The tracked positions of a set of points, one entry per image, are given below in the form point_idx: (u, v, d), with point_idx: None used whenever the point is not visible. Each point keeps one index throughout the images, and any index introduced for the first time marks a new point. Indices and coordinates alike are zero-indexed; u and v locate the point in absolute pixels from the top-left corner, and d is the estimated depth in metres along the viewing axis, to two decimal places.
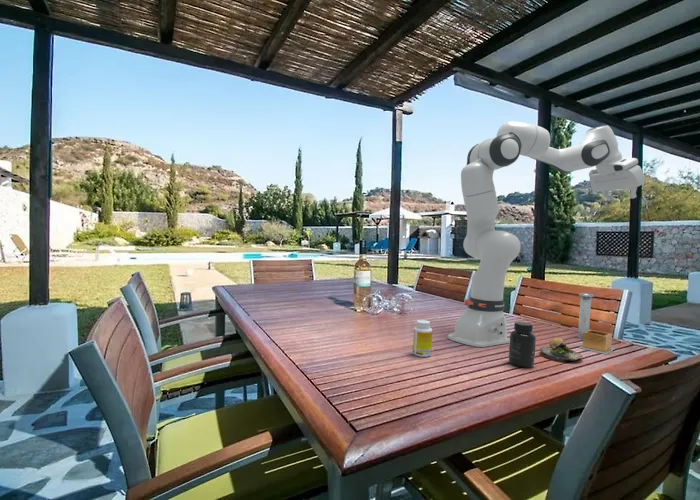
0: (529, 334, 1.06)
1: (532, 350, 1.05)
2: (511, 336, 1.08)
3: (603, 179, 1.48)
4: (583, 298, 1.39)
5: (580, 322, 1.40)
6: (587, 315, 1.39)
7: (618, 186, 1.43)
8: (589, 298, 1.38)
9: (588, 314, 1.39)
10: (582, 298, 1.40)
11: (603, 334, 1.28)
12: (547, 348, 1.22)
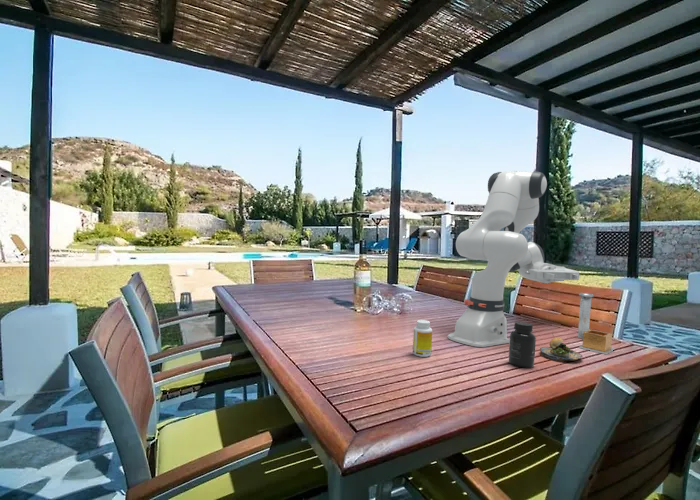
0: (530, 334, 1.06)
1: (532, 350, 1.05)
2: (511, 336, 1.08)
3: (544, 270, 1.61)
4: (583, 298, 1.39)
5: (580, 322, 1.40)
6: (587, 315, 1.39)
7: (561, 271, 1.58)
8: (589, 298, 1.38)
9: (588, 314, 1.39)
10: (582, 298, 1.40)
11: (603, 334, 1.28)
12: (547, 348, 1.22)
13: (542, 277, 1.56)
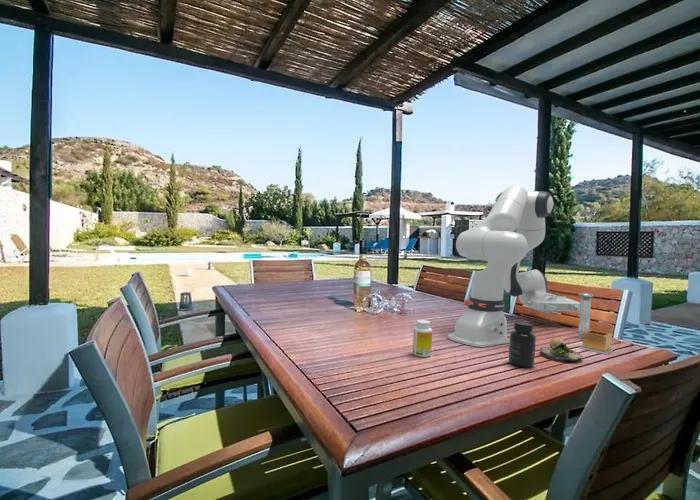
0: (530, 334, 1.06)
1: (532, 350, 1.05)
2: (511, 336, 1.08)
3: (545, 300, 1.59)
4: (583, 298, 1.39)
5: (580, 322, 1.40)
6: (587, 315, 1.39)
7: (562, 302, 1.56)
8: (589, 298, 1.38)
9: (588, 314, 1.39)
10: (582, 298, 1.40)
11: (603, 334, 1.28)
12: (547, 348, 1.22)
13: (543, 309, 1.54)
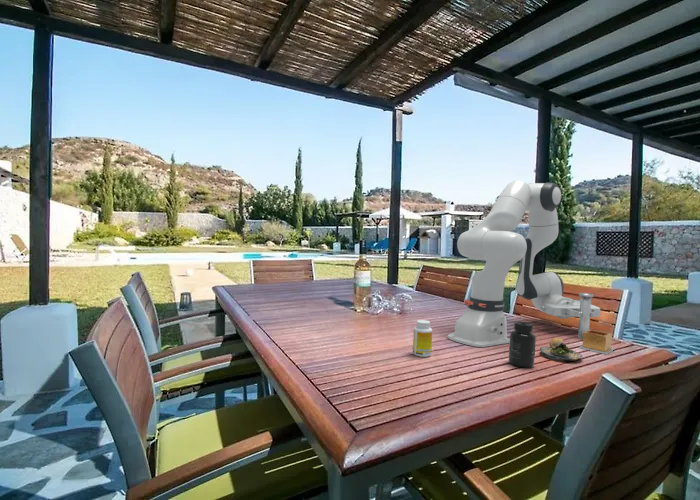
0: (529, 334, 1.06)
1: (532, 350, 1.05)
2: (511, 336, 1.08)
3: (561, 305, 1.49)
4: (583, 298, 1.39)
5: (580, 322, 1.40)
6: (587, 315, 1.39)
7: None
8: (589, 298, 1.38)
9: (588, 314, 1.39)
10: (582, 298, 1.40)
11: (603, 334, 1.28)
12: (547, 348, 1.22)
13: (560, 314, 1.44)
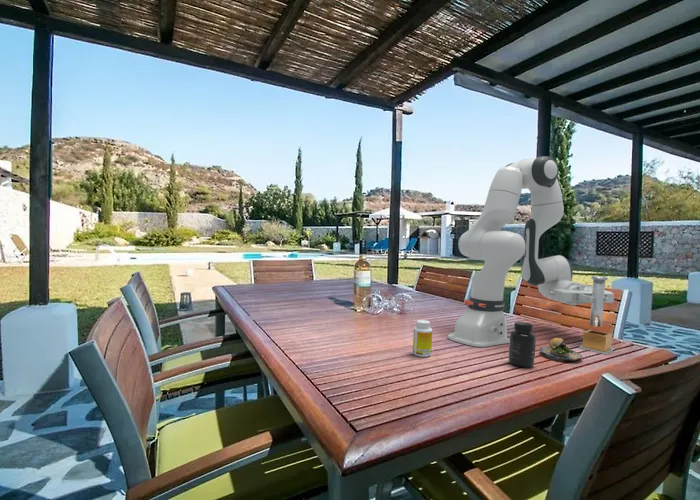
0: (530, 334, 1.06)
1: (532, 350, 1.05)
2: (511, 336, 1.08)
3: (571, 290, 1.36)
4: (596, 281, 1.27)
5: (593, 308, 1.28)
6: (600, 300, 1.26)
7: None
8: (603, 281, 1.26)
9: (602, 299, 1.26)
10: (595, 281, 1.27)
11: (603, 334, 1.28)
12: (547, 348, 1.22)
13: (571, 299, 1.31)
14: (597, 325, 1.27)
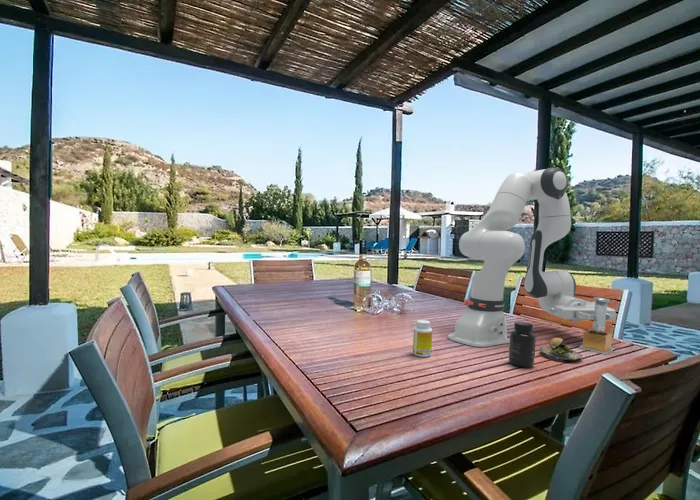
0: (529, 334, 1.06)
1: (532, 350, 1.05)
2: (511, 336, 1.08)
3: (572, 307, 1.35)
4: (598, 303, 1.25)
5: (594, 330, 1.26)
6: (602, 322, 1.25)
7: None
8: (605, 303, 1.24)
9: (603, 321, 1.25)
10: (597, 303, 1.26)
11: None
12: (547, 348, 1.22)
13: (572, 317, 1.30)
14: None
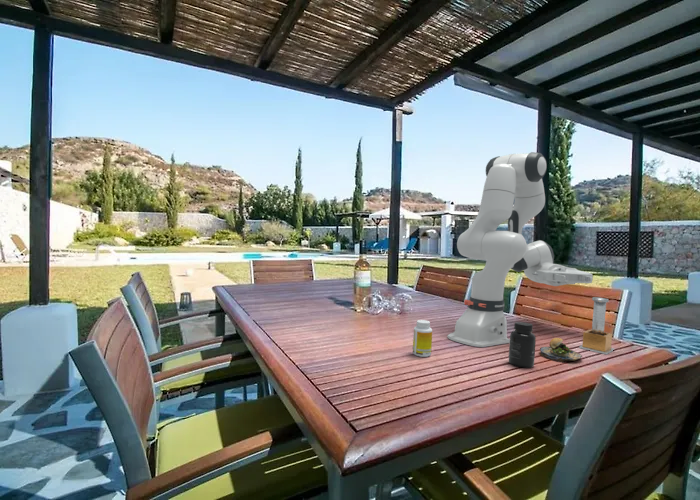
0: (530, 334, 1.06)
1: (532, 350, 1.05)
2: (511, 336, 1.08)
3: (553, 271, 1.46)
4: (597, 303, 1.25)
5: (593, 330, 1.26)
6: (601, 322, 1.25)
7: (572, 272, 1.43)
8: (604, 303, 1.25)
9: (602, 321, 1.25)
10: (596, 303, 1.26)
11: None
12: (547, 348, 1.22)
13: (552, 279, 1.41)
14: None
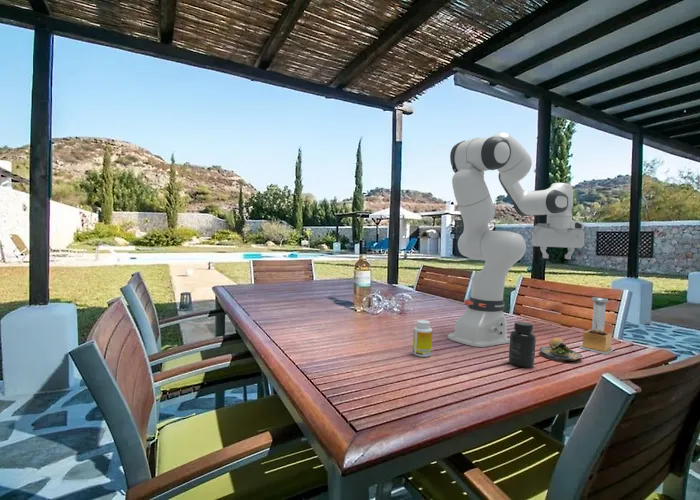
0: (530, 334, 1.06)
1: (532, 350, 1.05)
2: (511, 336, 1.08)
3: (552, 234, 1.48)
4: (597, 303, 1.25)
5: (593, 330, 1.26)
6: (601, 322, 1.25)
7: (565, 244, 1.48)
8: (603, 303, 1.25)
9: (602, 321, 1.25)
10: (596, 303, 1.26)
11: None
12: (547, 348, 1.22)
13: None
14: None
